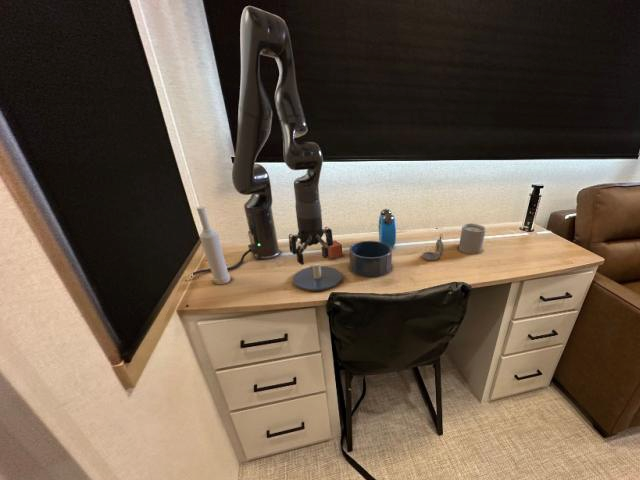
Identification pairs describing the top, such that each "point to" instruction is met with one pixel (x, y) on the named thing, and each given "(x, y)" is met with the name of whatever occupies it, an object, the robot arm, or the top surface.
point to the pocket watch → (439, 251)
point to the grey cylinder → (472, 238)
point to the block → (335, 250)
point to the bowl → (370, 258)
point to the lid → (317, 277)
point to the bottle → (213, 250)
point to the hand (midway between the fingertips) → (313, 260)
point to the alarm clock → (387, 228)
